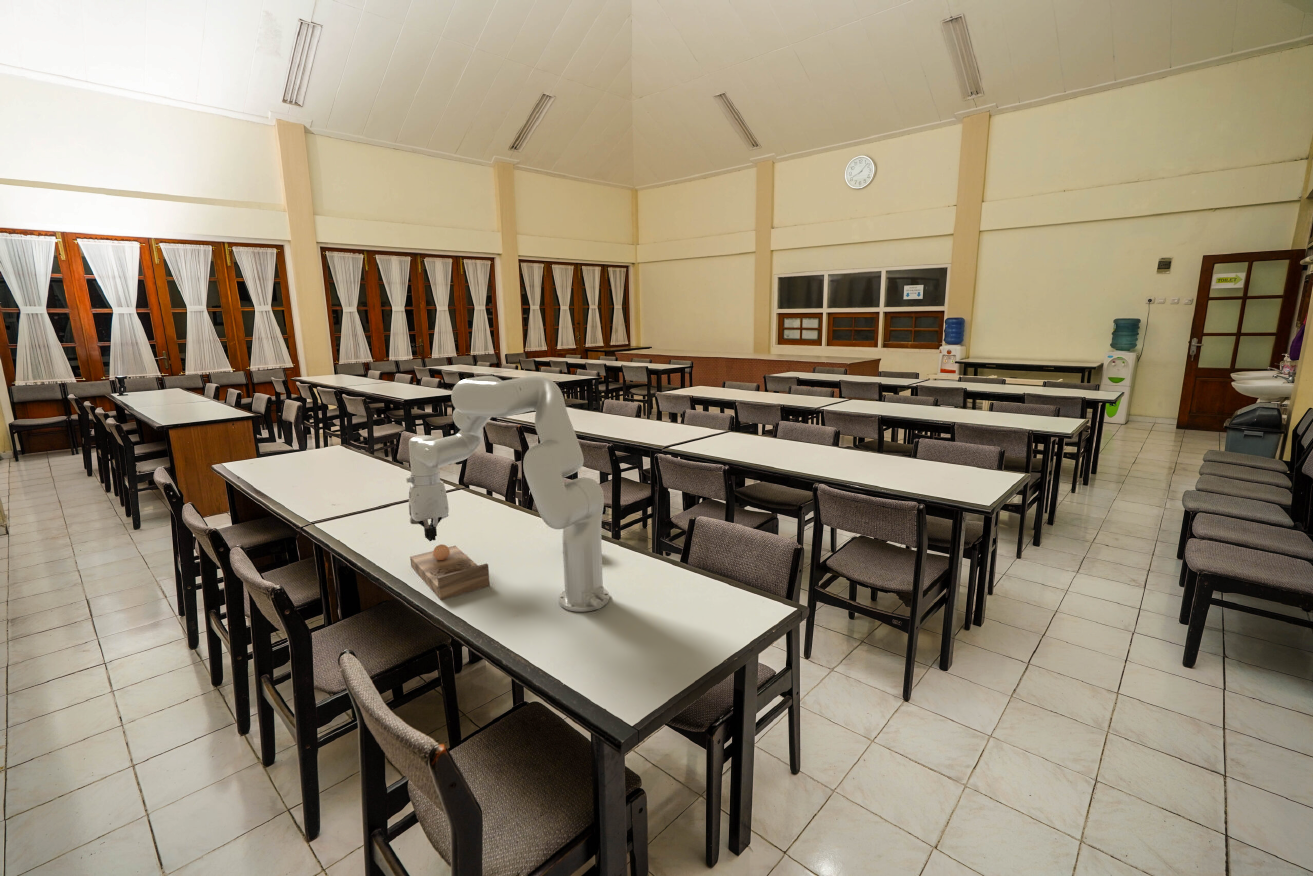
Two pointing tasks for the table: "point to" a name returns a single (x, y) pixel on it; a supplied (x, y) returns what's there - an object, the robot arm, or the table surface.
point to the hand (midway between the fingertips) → (431, 539)
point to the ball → (441, 552)
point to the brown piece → (450, 573)
